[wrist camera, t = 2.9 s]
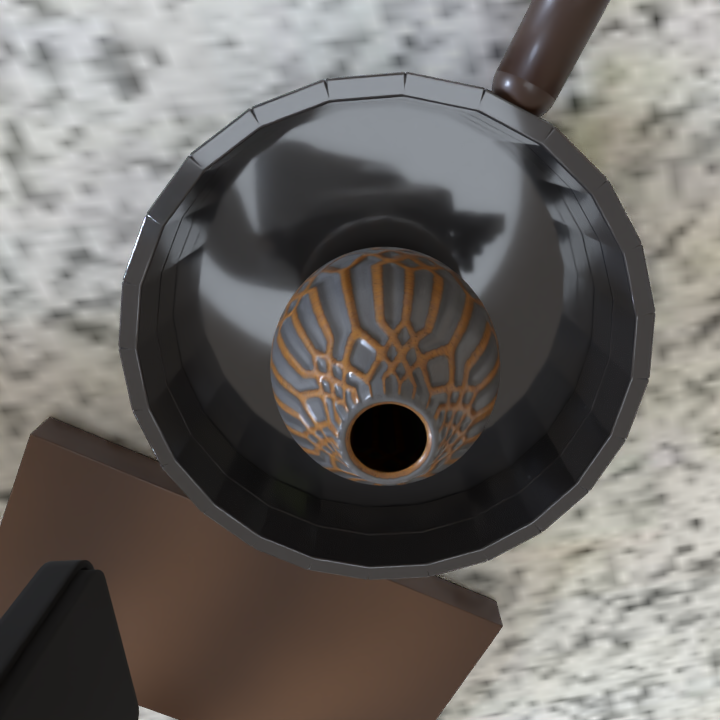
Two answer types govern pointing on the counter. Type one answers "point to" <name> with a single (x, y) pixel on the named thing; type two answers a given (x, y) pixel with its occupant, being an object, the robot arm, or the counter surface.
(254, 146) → the pan
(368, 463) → the vase
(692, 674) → the counter surface
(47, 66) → the counter surface
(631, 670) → the counter surface
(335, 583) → the board
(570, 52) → the pan handle
